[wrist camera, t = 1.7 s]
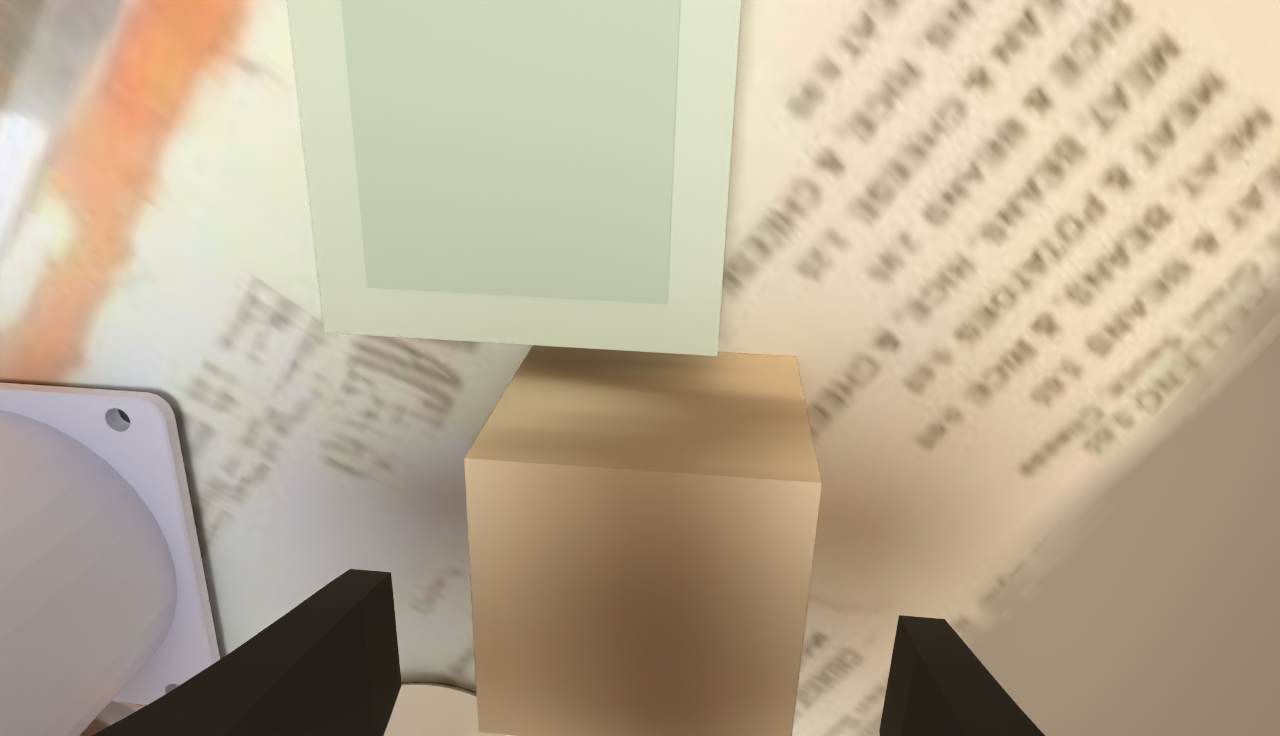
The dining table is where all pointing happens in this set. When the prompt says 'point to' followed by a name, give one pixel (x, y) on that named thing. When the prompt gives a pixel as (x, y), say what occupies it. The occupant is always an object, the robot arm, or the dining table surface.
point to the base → (519, 168)
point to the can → (434, 712)
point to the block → (642, 545)
